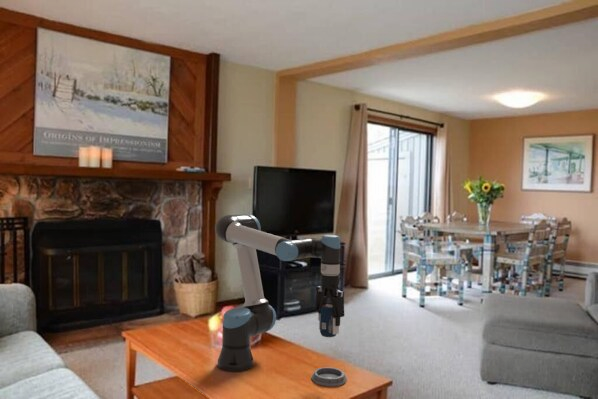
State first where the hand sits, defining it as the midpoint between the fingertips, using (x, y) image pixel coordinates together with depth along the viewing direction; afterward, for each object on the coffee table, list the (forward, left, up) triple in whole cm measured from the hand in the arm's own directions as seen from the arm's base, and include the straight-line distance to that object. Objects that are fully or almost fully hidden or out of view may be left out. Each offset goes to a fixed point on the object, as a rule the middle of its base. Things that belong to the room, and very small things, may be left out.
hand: (328, 331), depth 191 cm
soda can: (0, 0, -2) cm, 2 cm away
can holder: (0, +1, -20) cm, 20 cm away
